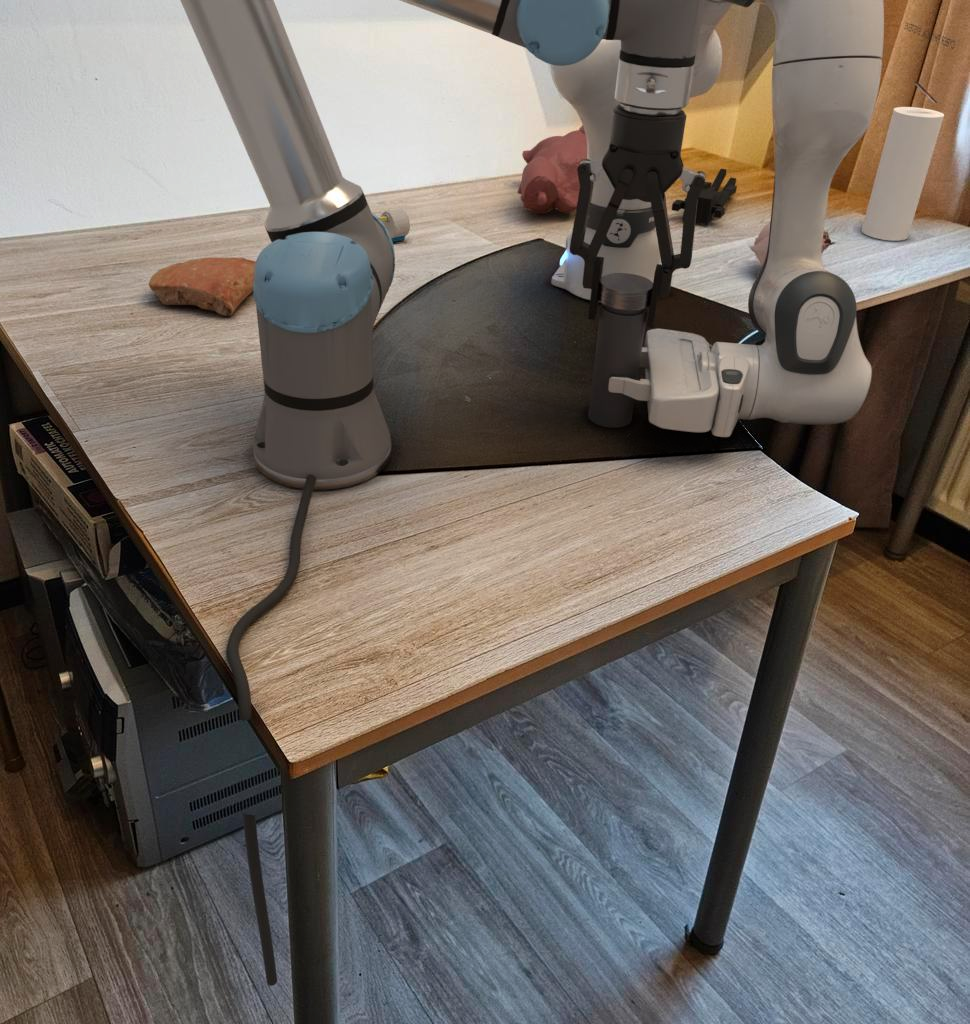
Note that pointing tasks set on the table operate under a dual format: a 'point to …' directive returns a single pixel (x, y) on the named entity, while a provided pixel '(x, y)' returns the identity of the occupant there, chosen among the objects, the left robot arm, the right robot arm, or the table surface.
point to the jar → (616, 364)
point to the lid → (625, 291)
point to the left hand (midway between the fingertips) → (621, 318)
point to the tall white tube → (902, 168)
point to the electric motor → (396, 223)
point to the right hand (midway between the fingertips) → (608, 370)
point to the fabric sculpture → (553, 173)
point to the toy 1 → (711, 199)
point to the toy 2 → (763, 239)
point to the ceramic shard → (205, 283)
